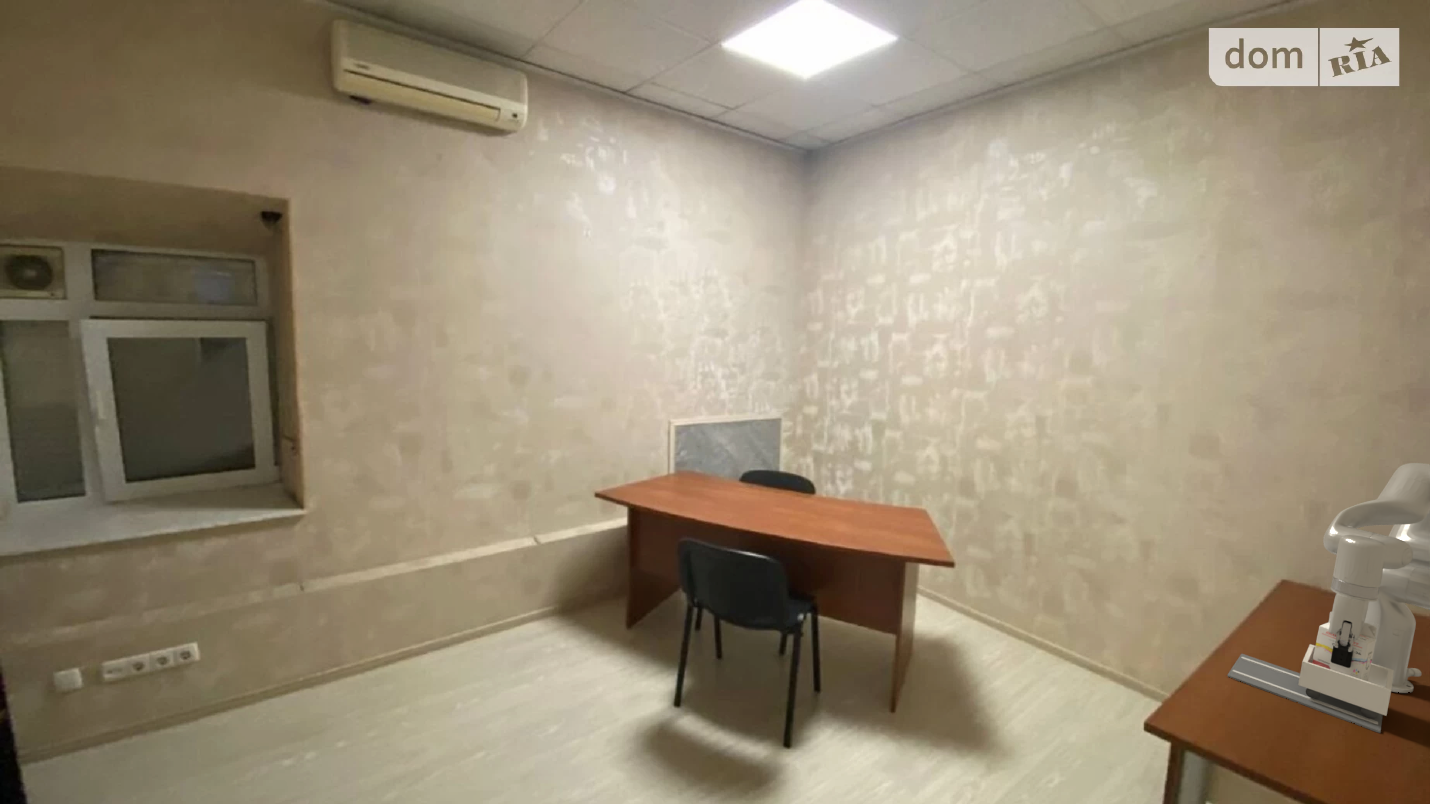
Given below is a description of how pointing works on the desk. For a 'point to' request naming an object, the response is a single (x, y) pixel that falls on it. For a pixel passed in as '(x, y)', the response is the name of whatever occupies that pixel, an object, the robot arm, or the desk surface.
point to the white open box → (1348, 685)
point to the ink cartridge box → (1360, 650)
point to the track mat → (1297, 690)
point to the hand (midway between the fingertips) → (1341, 659)
